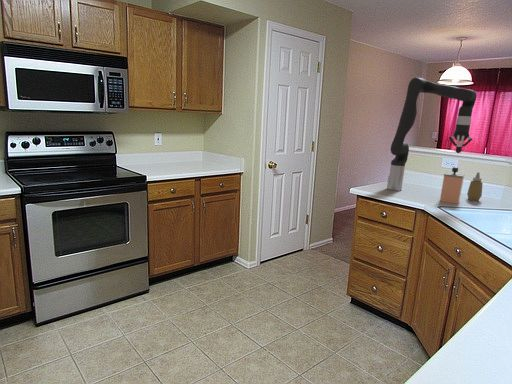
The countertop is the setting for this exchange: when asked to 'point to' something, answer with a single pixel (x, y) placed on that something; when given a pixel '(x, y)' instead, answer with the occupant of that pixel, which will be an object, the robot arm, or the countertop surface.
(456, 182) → the open tunnel frame
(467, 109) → the robot arm
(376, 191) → the countertop surface
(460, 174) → the drawer with knob
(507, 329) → the countertop surface
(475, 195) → the squeeze bottle
